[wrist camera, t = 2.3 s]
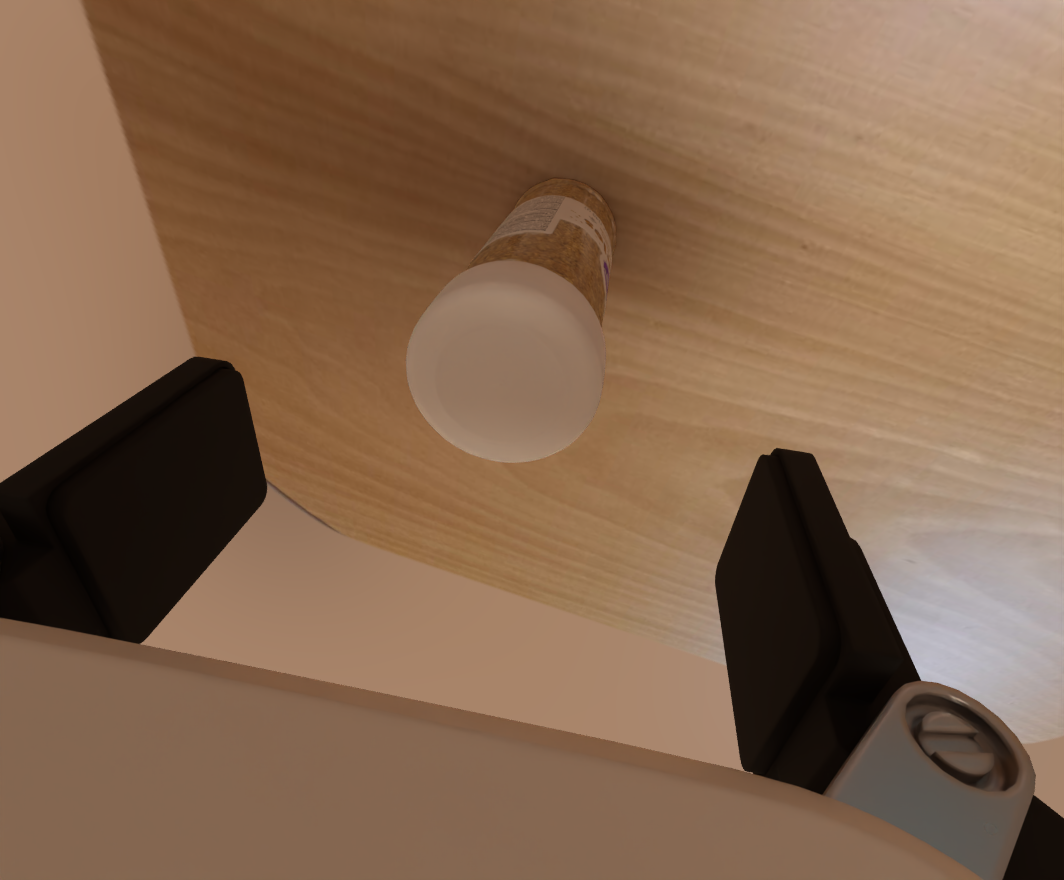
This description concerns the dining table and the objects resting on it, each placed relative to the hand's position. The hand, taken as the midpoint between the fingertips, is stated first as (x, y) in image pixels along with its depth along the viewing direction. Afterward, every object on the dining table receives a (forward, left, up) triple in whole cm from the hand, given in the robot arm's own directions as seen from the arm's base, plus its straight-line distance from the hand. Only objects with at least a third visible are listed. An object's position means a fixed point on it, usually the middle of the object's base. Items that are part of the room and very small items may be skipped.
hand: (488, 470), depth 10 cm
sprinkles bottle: (0, 0, -16) cm, 16 cm away
